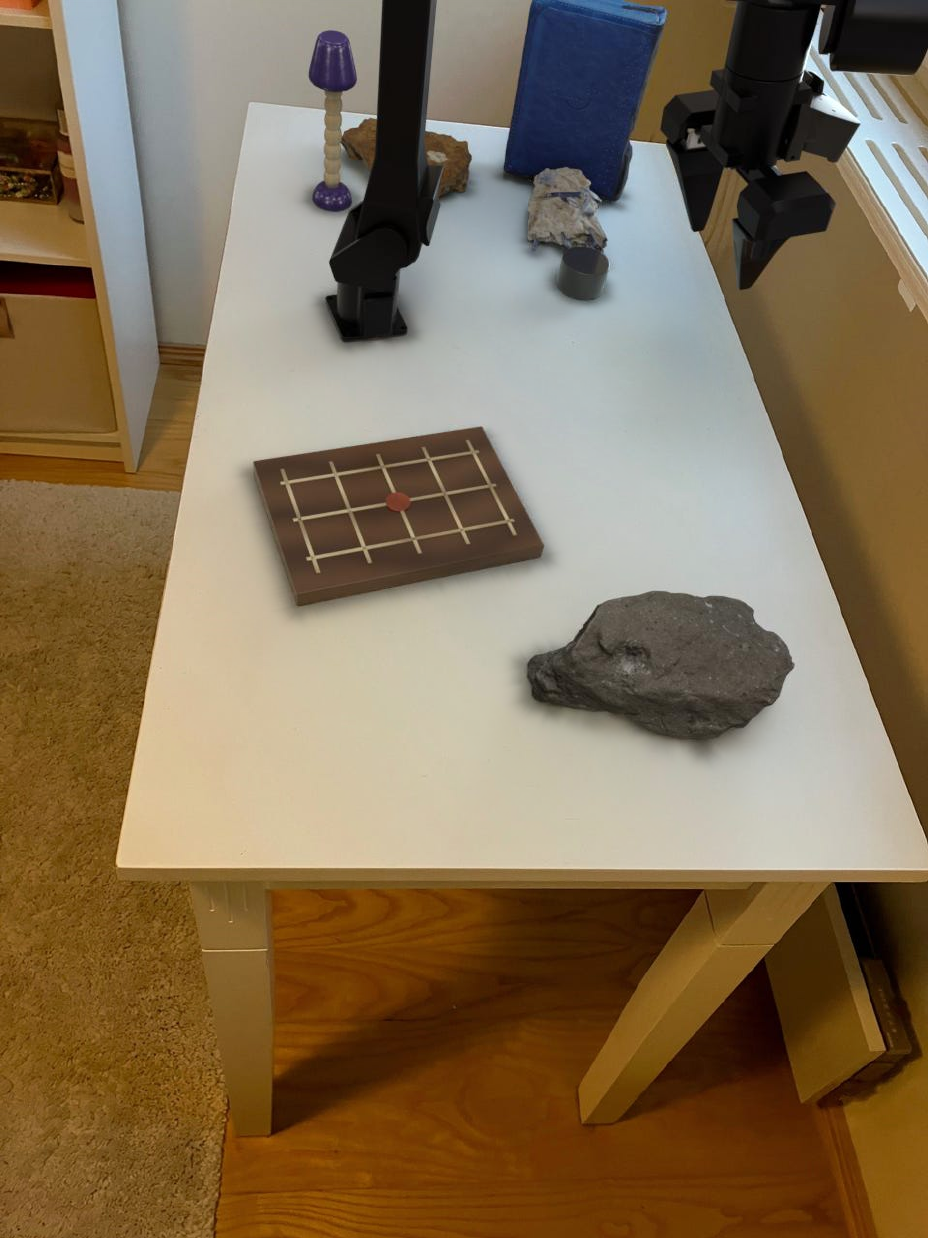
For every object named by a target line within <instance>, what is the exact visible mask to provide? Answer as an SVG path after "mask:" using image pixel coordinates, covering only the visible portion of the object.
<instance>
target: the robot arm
mask: <svg viewBox="0 0 928 1238" xmlns="http://www.w3.org/2000/svg"><path fill="white" fill-rule="evenodd" d="M437 1H438V0H381V16H380V17H381V18H380V19H381V21H380V40H379V58H378V59H379V63H378V84H377V104H376V105H377V106H376V119H377V123H376V145H375V157H374V162H373V166H372V169H371V173H369V177H368V181H367V185H366V188H365V191H364V196H363V198H362V201H360V202H358V203H357V204H356V205H354V206H353V207H351V208H350V209H349V210H348V212H347V215H346V217H345V220H344V222H343V224H342V227H341V230H340V233H339V235H338V238H337V241H336V243H335V245H334V248H333V251H332V253H331V256H330V258H329V260H328V265H329V268H330V270H331V274H332V277H333V279H334V281H335V282H336V283H337V285H336V294H329V295H326V296H325V298H324V299H325V301H324V302H325V305H326V307H327V309H328V311H329V314H330V316H331V318H332V320H333V323H334V325H335V328H336V330H337V332H338V334H339V336H340V338H341V340H342V341H344V342H352V341H360V340H369V339H378V338H387V337H394V336H403V335H404V336H405V335H407V333H408V331H409V330H408V329H409V328H408V326H407V323H406V321H405V320H404V317H403V316H402V312H400V309H399V308H398V302H399V301H398V300H399V290H400V289H399V288H400V281H401V280H400V279H401V271H402V270H401V269H406V268H407V267H409V266H411V265H412V264H415V263H416V262H417V260H418V259H419V257H420V254H421V250H422V248H423V245H424V246H425V247H429V246H430V244H431V241H432V238H433V234H434V230H435V227H436V223H437V221H438V216H439V213H440V210H441V206H442V204H441V201H440V197H439V196H438V187H439V182H440V179H441V175H442V172H443V169H444V166H442V165H428V160H427V156H426V152H425V145H424V141H425V131H426V128H427V118H428V107H429V106H428V105H429V96H430V95H429V94H430V82H431V70H432V60H433V50H434V49H433V48H434V36H435V27H436V26H435V25H436V13H437V5H438V4H437V3H438V2H437ZM726 1H727V2H728V1H729V2H730V1H731V2H737V3H736V7H735V12H734V16H733V21H732V26H731V32H730V37H729V40H728V41H729V42H728V47H727V52H726V57H725V62H724V66H723V68H722V69H720V68H719V69H714V70H713V69H712V70H711V75H710V81H709V86H710V87H711V88H712V89H708V90H702V91H701V90H699V91H694V92H685V93H679V94H678V93H677V94H675V95H674V96H673V97H672V98H671V99H670V100H669V101H668V102H667V103H666V104H665V105H664V107H663V109H662V116H661V122H660V128H659V130H660V131H661V133H662V134H663V135H664V136H665V138H666V140H665V146H666V149H668V151H669V155H670V158H671V162H672V165H673V167H674V168H673V169H674V171H675V174H676V177H677V181H678V184H679V188H680V192H681V195H682V199H683V204H684V208H685V210H686V215H687V218H688V222H689V226H690V229H691V231H692V233H697V232H698V233H699V232H703V231H704V230H705V229H706V226H707V223H708V221H709V218H710V215H711V214H712V213H711V212H712V209H713V206H714V202H715V199H716V195H717V193H718V189H719V186H720V182H721V179H722V176H723V173H724V170H725V169H727V170H729V171H733V170H734V171H735V172H736V173H737V174H738V175H739V177H741V179H743V180H744V182H745V183H746V184H747V185H746V186H744V188H743V189H742V190H741V191H740V192H739V194H738V198H737V202H736V212H737V217H734V218H732V220H731V223H732V240H733V253H734V254H733V255H734V256H733V257H734V269H735V271H734V272H735V280H736V286H737V288H738V290H739V291H743V290H749V289H751V288H752V287H753V286H754V284H755V283H756V281H757V280H758V278H759V277H760V276H761V274H762V273H763V272H764V270H765V269H766V268H767V267H768V265H769V263H770V262H771V260H772V259H773V258H774V256H775V255H776V254H777V252H778V251H779V250H780V249H781V248H782V247H783V246H784V245H785V243H786V242H787V241H788V240H789V239H791V238H793V237H799V236H800V237H801V236H806V235H812V234H817V233H823V232H824V233H825V232H826V231H827V230H828V228H829V227H830V224H831V220H832V217H833V214H834V210H835V208H836V204H837V203H836V201H835V199H833V196H831V195H830V193H829V192H828V190H826V189H825V187H823V186H822V184H820V182H819V181H817V180H816V179H815V178H814V176H812V175H811V174H810V173H809V172H808V171H807V170H803V171H797V172H791V173H783V172H781V170H780V169H778V167H777V166H776V165H777V163H778V161H782V160H783V161H784V162H785V163H792V162H797V161H798V162H799V161H800V160H801V157H802V153H803V152H805V153H807V154H811V155H813V156H818V157H822V158H825V159H826V160H827V162H829V163H833V164H836V163H838V162H839V160H840V159H841V158H842V155H843V154H844V152H845V151H846V149H847V147H848V145H849V144H850V142H851V141H852V139H853V138H854V136H855V134H856V133H857V131H858V129H859V127H860V126H861V123H862V122H861V121H860V120H859V119H858V118H857V117H856V116H855V115H854V114H853V113H851V112H850V111H849V110H848V109H847V108H846V107H844V106H843V105H842V104H841V103H840V102H839V101H837V100H836V99H834V98H832V97H831V96H830V95H829V94H827V93H825V92H824V88H825V80H824V78H822V77H821V76H820V75H819V74H817V72H815V71H814V70H811V69H808V68H806V66H807V61H808V58H809V54H810V51H811V47H812V43H813V39H814V35H815V31H816V28H817V25H818V20H819V17H820V13H821V8H822V6H825V7H824V11H823V14H822V19H821V23H820V29H819V34H818V42H817V51H818V52H817V53H818V55H823V56H825V55H826V56H828V55H829V57H828V58H829V59H828V60H829V61H828V62H829V70H830V71H831V72H833V73H834V72H835V73H851V74H867V75H868V74H869V75H885V76H888V75H889V76H905V77H912V76H914V75H915V74H917V72H918V71H919V69H920V67H921V66H922V63H923V61H924V60H925V58H926V55H927V52H928V0H726Z"/></svg>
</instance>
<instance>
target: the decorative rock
mask: <svg viewBox="0 0 928 1238" xmlns="http://www.w3.org/2000/svg"><path fill="white" fill-rule="evenodd" d="M376 123H377V118H373V117H369V118H364V119H363V120H362V121H361V123H360V124H359V125H358V127H349V128H348V129H347V130H344V131H343V133H342V139H341V142H340V144H341V146H342V147H343V149H344V151H345V152H346V154H347V155H348V158H350V159H351V161H354V162H360V161H361V162H362V164H363V165H364V166H365V167H366V168H367V170H368V171H369V172H370V173H371V169H372V166H373V162H374V157H375V145H376ZM424 145H425V152H426V156H427V160H428V165H442V166H444V169H443V172H442V175H441V179H440V182H439V187H438V197H439V198H440V197H441V196H442V195H443V196H445V195H446V194H447V193H449V194H450V193H451V192H452V191H453V190H457V191H458V192H459V193H464V192H465V191H466V190H467V187H468V185H467V182H468V180H469V176H470V165H471V162H472V160H473V155H472V154H471V153H470V150H469V142H468V141H467V140H461V141H460V140H457V139H456V138H455V137H453V136H452V135H451V134H450V135H449V134H446V133H437V132H435V131H429V130H428V131H427V130H425V141H424ZM370 173H369V174H370Z"/></svg>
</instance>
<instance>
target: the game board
mask: <svg viewBox="0 0 928 1238" xmlns="http://www.w3.org/2000/svg"><path fill="white" fill-rule="evenodd" d="M252 463H253V475H254V479H255V482H256V485H257V488H258V490H259V494H260V497H261V500H262V503H263V506H264V510H265V512H266V515H267V518H268V522H269V524H270V527H271V530H272V533H273V537H274V540H275V543H276V546H277V548H278V551H279V555H280V558H281V561H282V564H283V567H284V570H285V574H286V576H287V579H288V583H289V585H290V588H291V592H292V594H293V598H294V601H295V603H296V604H295V605H296V606H297V607H300V606H304V605H309V604H314V603H315V604H316V603H319V602H324V601H330V600H334V599H340V598H346V597H350V596H355V595H359V594H365V593H369V592H374V591H378V590H385V589H389V588H394V587H398V586H403V585H410V584H413V583H418V582H424V581H428V580H435V579H439V578H444V577H448V576H454V575H459V574H463V573H468V572H474V571H478V570H483V569H488V568H493V567H497V566H502V565H508V564H513V563H518V562H522V561H523V562H524V561H527V560H532V559H537V558H541V557H542V555H543V552H544V548H545V543H544V541H543V539H542V538H541V536H540V534H539V532H538V530H537V528H536V526H535V524H534V522H533V521H532V519H531V517H530V515H529V513H528V511H527V509H526V507H525V505H524V504H523V501H522V499H521V498H520V496H519V494H518V492H517V490H516V488H515V486H514V484H513V482H512V480H511V479H510V477H509V475H508V473H507V471H506V469H505V467H504V465H503V463H502V461H501V459H500V458H499V455H498V454H497V451H496V449H495V448H494V446H493V444H492V442H491V440H490V437H488V434H487V432H486V431H485V429H484V427H483V426H482V425H481V426H474V427H468V428H461V429H454V430H448V431H442V432H436V433H429V434H422V435H417V436H410V437H403V438H396V439H390V440H383V441H377V442H370V443H364V444H357V445H356V444H355V445H350V446H344V447H337V448H331V449H324V450H318V451H310V452H305V453H297V454H291V455H286V456H278V457H272V458H271V457H270V458H266V459H259V460H253V462H252Z"/></svg>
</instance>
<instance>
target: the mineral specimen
mask: <svg viewBox="0 0 928 1238" xmlns="http://www.w3.org/2000/svg"><path fill="white" fill-rule="evenodd" d="M590 184H591V182H590V181H589V180H588V179H586V178H585V176H584V175H583V173H582V171H581V170H579V169H569V168H568V167H564V168H560V169H556V170H550V169H547V168H546V169H545V171H542V172H541V173H540V174H539V175H536V176H535V177H534V182H533V185H534V189H533V191H532V194H531V195H530V198H529V201H528V203H527V205H528V210H527V213H528V214H529V216H528V220H527V239H528V241H529V242H530V241H533V244H532V250H533V251H535V250H536V249H537V246H538V244H541V242H545V243H548V242H554V243H555V244H557V245H560V246H564V247H566V248H567V249H569V248H572V247H588V248H592V249H595V250H597V251H599V252H601V253H602V254H604V255H605V256H606V253H605V252H604V249H605V248H606V247H607V246H608V243H607V242H608V241H609V240H608V238H607V235H606V233H605V232H604V230H603V228H602V226H601V223H600V222H599V219H598V218H597V215H596V211H597V210H598V209H599V205H601V204H602V203H603V200H601V199H600V198H599V197H598V196H597V195H596V194H595V193H593V192H592V191H590V190H589V186H590ZM606 257H607V256H606Z"/></svg>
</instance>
